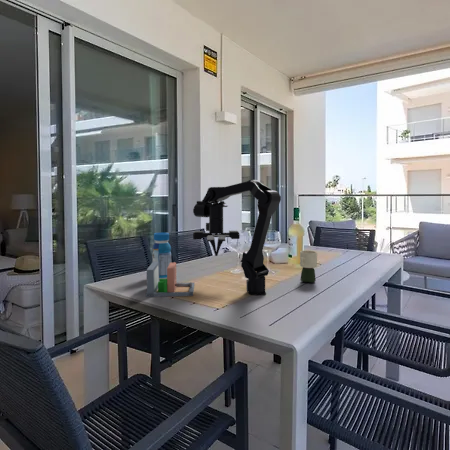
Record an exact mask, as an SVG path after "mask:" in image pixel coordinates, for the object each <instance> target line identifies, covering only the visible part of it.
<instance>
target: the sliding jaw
mask: <svg viewBox="0 0 450 450" xmlns="http://www.w3.org/2000/svg"><path fill="white" fill-rule="evenodd" d="M177 281H178V280H177V262H171V263H170V264H169V266H168V268H167V292H176V289H177V287H189V288H190V287H192V283H193V282H192V281H190V282H177ZM177 283H179V284H177Z"/></svg>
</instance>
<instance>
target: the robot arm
mask: <svg viewBox="0 0 450 450" xmlns="http://www.w3.org/2000/svg"><path fill="white" fill-rule="evenodd" d="M249 192H250V193H251V194H252V196H253V197H254V199H256V200H257V204H256V205H257V210H258V216H257V220H256V222H255V223H256V224H255V227H254V232H253V236H252V239H251V243H250V247H249V249H248V250H247V251H243V253H242V257H241V259H240V263H241V269H242V270H243V274H244V277H245V278H246V279H245V280H246V283H245V284H246V285H245V286H246V289H245V290H246V292H247V293H248V295H252V296H253V295H267V292H266V276H268V274H269V272H270V270H269V269H268V268H267V266H266V265H265V263H264V260H265V255H264V253H263V251H264V246H265V244H266V243H265V242H266V239H267V236H268V231H269V227H270V224H271V219H272V216H273V214H275V212H276V211H277V209H278V207H279V205H280V204H281V201H282V197H281V195H280V193H279V192H278V191H277V190H273V189H272V188H270V187H269V186H267V185H265V184H263V183H262V182H260V181H259V180H258V179H250V180H249V179H248V180H247V181H243V182H240V183H236V184H231V185H228V186H210V187H208V188H207V190H206V193H205V195H204V197H203V199H202V200H197V201H196V204H195V205H194V207H193V209H192V210H193V212H192V213H193V215H194V216H195V217H196V218H208V222H206V223H205V231H206V232H204V230H194V232H193V234H192V236H193V237H192V238H193V240H202V239H203V238H207V242H209V243H210V245H211V246H212V250H213V252H214V256H215V257H218V255H219V252H220V250H221V246H222V244H223V243H224V242H226V238H230V239H231V240H238V239H240V232H239V231H238V230H229V231H228V232H224V208H227V207H229V205H228V204H227V203H226V202H225V200H227V199H229V198H230V197H233V196H237V195H241V194H245V193H249ZM215 238H217V244H216V241H215Z"/></svg>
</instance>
